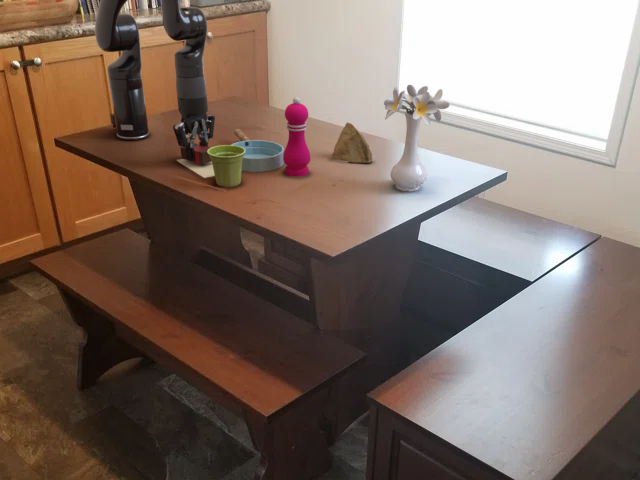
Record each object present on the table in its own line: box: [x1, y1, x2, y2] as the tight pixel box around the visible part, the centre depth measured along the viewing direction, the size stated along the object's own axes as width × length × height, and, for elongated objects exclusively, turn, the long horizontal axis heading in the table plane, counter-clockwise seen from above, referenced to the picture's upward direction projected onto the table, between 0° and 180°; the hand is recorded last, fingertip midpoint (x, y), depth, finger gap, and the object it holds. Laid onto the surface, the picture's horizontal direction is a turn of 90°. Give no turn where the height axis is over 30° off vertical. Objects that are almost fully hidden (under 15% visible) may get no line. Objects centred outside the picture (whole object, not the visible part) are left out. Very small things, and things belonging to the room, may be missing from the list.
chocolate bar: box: [179, 143, 211, 165], centre depth 185 cm, size 8×4×3 cm, turn 58°
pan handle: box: [233, 128, 251, 146], centre depth 197 cm, size 12×2×2 cm, turn 22°
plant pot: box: [207, 144, 245, 188], centre depth 174 cm, size 9×9×9 cm
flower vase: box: [383, 84, 450, 193], centre depth 171 cm, size 13×18×25 cm
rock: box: [331, 122, 373, 164], centre depth 191 cm, size 11×9×10 cm
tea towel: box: [176, 158, 215, 179], centre depth 185 cm, size 16×9×1 cm, turn 37°
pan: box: [230, 139, 285, 173], centre depth 188 cm, size 15×16×4 cm
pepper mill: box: [283, 96, 311, 178], centre depth 178 cm, size 7×7×20 cm
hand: (197, 157), depth 186 cm, fingers closed on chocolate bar, 4 cm apart
